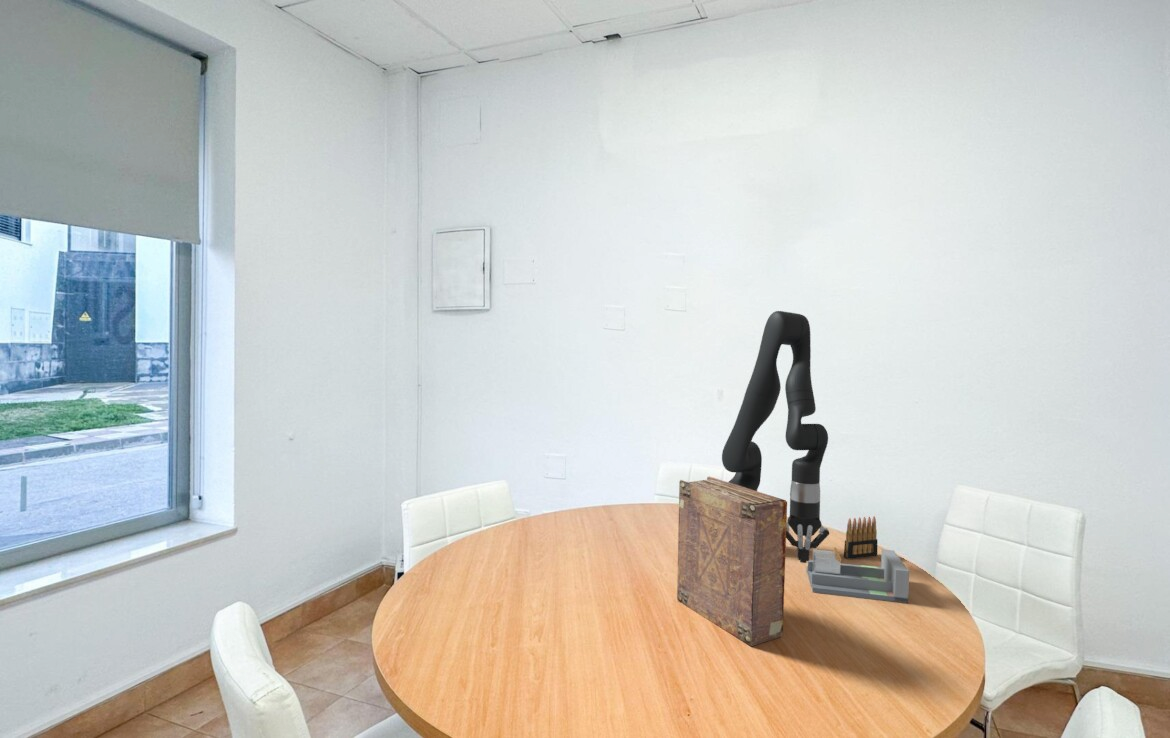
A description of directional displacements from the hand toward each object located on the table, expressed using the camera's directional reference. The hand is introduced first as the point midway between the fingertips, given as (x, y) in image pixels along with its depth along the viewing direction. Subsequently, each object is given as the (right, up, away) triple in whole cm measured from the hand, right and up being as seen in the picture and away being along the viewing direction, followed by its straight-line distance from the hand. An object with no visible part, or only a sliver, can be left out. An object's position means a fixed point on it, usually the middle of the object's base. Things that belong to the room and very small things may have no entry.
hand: (803, 561), depth 156 cm
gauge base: (+12, -5, -3) cm, 14 cm away
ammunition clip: (+24, -5, +19) cm, 31 cm away
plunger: (+5, -4, -1) cm, 7 cm away
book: (-26, -6, -22) cm, 34 cm away
